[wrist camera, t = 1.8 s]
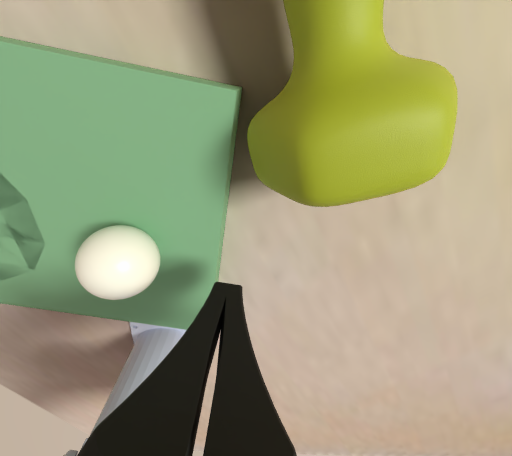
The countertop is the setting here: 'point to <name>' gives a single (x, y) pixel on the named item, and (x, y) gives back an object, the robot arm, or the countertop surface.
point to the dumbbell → (351, 111)
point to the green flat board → (110, 178)
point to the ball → (117, 262)
